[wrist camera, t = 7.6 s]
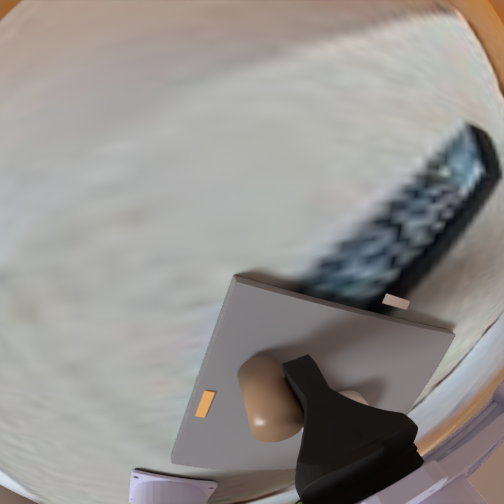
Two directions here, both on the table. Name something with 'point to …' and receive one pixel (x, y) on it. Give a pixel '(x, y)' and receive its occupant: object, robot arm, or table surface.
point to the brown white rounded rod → (273, 400)
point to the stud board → (290, 348)
